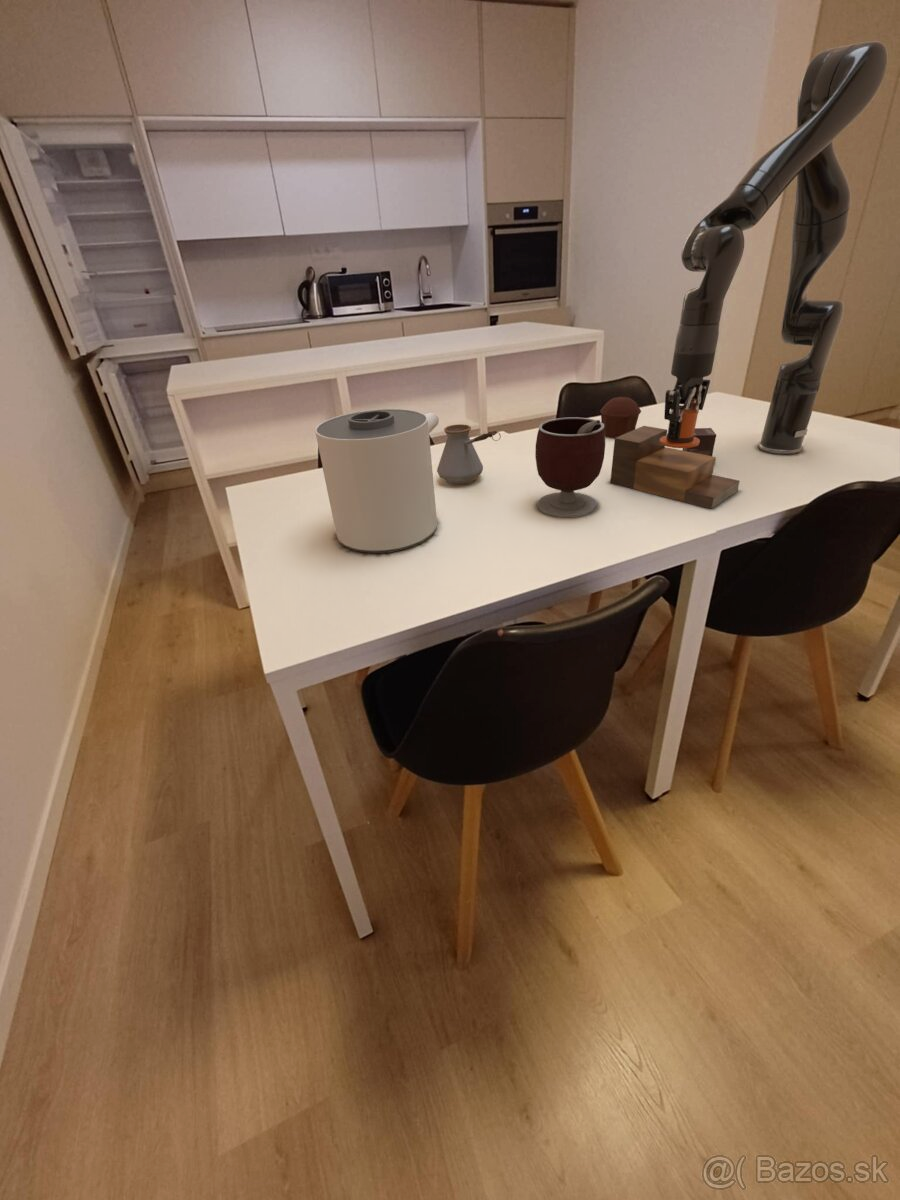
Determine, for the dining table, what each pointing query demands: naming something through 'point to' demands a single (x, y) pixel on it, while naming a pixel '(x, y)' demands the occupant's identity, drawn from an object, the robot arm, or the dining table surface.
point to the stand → (667, 469)
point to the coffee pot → (461, 456)
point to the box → (703, 441)
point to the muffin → (619, 416)
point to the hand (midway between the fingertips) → (680, 435)
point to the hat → (684, 432)
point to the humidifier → (379, 478)
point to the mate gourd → (569, 463)
